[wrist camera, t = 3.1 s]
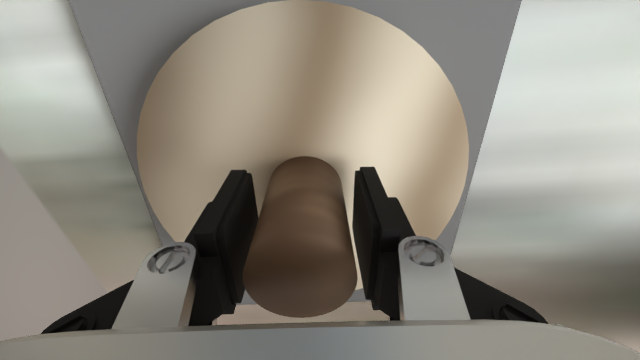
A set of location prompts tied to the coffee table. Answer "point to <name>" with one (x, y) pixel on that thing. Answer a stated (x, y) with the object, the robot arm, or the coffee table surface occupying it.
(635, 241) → the coffee table surface
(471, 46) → the mat
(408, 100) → the lid
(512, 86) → the coffee table surface
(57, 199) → the coffee table surface
